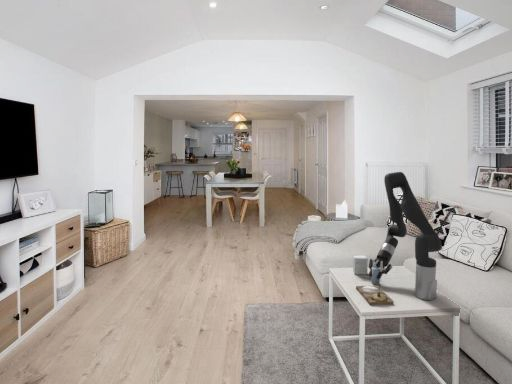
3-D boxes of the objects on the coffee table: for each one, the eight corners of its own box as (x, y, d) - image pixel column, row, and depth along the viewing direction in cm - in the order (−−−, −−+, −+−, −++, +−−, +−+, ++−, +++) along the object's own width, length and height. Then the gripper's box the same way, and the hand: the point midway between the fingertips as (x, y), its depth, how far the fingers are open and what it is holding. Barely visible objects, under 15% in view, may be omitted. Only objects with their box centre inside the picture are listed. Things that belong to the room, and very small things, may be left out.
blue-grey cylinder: (381, 283, 190) (381, 268, 189) (376, 285, 187) (377, 270, 186) (374, 281, 193) (374, 266, 193) (370, 283, 191) (370, 268, 190)
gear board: (393, 304, 164) (393, 295, 163) (369, 304, 163) (370, 295, 163) (377, 288, 184) (377, 280, 183) (356, 288, 183) (356, 280, 183)
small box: (365, 271, 210) (365, 255, 209) (367, 274, 205) (368, 258, 204) (352, 271, 211) (352, 255, 210) (354, 274, 206) (354, 258, 204)
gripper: (372, 246, 199) (360, 270, 192) (395, 252, 187) (382, 277, 181) (377, 253, 202) (365, 277, 196) (399, 259, 191) (387, 284, 185)
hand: (373, 277), depth 189 cm, fingers closed on blue-grey cylinder, 4 cm apart
